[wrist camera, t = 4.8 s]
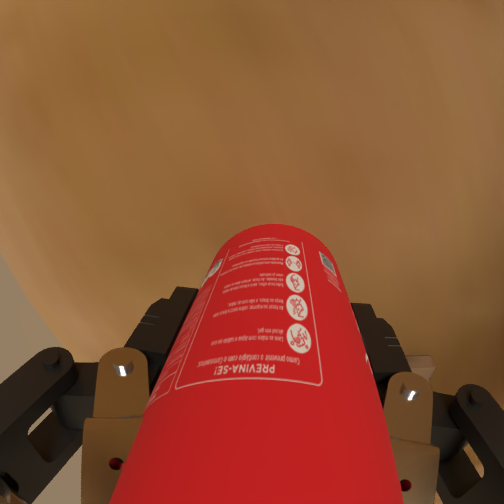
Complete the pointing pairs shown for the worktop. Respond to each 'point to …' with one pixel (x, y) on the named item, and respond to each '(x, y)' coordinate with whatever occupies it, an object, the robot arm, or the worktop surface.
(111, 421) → the robot arm
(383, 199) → the worktop surface
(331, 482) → the beverage can
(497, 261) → the worktop surface
